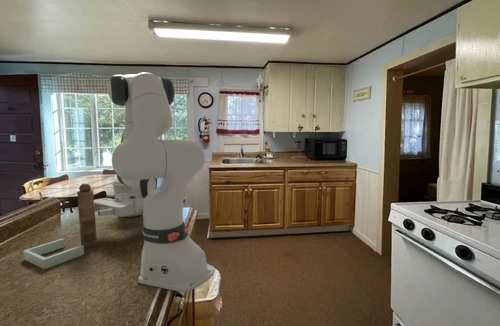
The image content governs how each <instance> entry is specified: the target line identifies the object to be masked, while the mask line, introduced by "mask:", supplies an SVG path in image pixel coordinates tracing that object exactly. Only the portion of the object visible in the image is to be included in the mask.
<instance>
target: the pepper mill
mask: <svg viewBox="0 0 500 326" xmlns="http://www.w3.org/2000/svg"><path fill="white" fill-rule="evenodd" d="M78 189H79V190H78V191H76V195H77V208H78V209H77V210H78V222H79V233H80V235H79V236H80V237H79V238H80V246H81V245H83V246H84V248H91V247H94V246H96V245H97V241H98V240H97V227H96V211H95V209H94V200H95V195H94V190H93V189H92V187H91V185H90V184H89V183H86V182H85V183H82V184H81V185H80V186H79V188H78Z"/></svg>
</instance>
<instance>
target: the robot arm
mask: <svg viewBox="0 0 500 326" xmlns="http://www.w3.org/2000/svg"><path fill="white" fill-rule="evenodd" d="M107 83H108V84H107V94H108V96H109V99H110V100H111V102H112V103H113V104H114V105H116V106H119V107H125V108H124V118H125V119H124V122H125V127H124V130H123V132H122V135H121V139H120V141H121V142H120V143H119V144H118V145H117V146H116V147H115V148H114V150H113V152H112V155H111V165H112V169H113V170H114V172H115V173H116V175H117V179H118V181H119V182H120V183H121V184H123V185H126V186H129V187H132V190H131V191H129V192H124V193H120V194H117V195H116V197H115V196H114V198H110V197H109V198H108V197H103V198H97V199H94V209H95V212H97V216H99V217H103V216H114V217H120V218H121V217H123V218H124V217H125V216H129V215H136V214H139V210H142V209H143V213H144V225H143V224H142V231H141V234H142V239H143V246H142V250H141V260H140V262H141V263H140V271H139V274H140V275H139V276H138V279H137V280H138V283H139V284H142V285H146V286H151V287H157V288H161V289H164V290H165V289H166V290H171V291H175V292H179V293H185V292H190V291H192V290H195V289H196V288H198V287H200V286H203V285H204V284H205V283H207V281H209V280H210V279H211V278H212V277H214V275H215V273H216V269H215V267H214V266H213V265H210V264H209V263H207V257H206V252H205V251H204V250H203V249H202V248H201V246H200V245H199V244H197V243H196V242H195V241H194V240H193V239H192V238H191V237H190V236H189V232H190V231H191V230H190V229H191V227H190V226H189V227H187V226H186V224H185V222H184V219H183V218H184V216H183V215H184V212H183V210H184V197H185V193H186V190H187V188H188V187H189V186H188V185H189V184H190V182H191V181H192V179H193V178H194V177H195V176H196V175H197V174H198V173H199V172H200V171H201V170H202V169H203V167H204V164H205V161H206V160H205V159H206V155H205V151H204V148H203V147H202V146H201V144H200V143H199V142H197V141H193V140H188V139H187V140H186V139H158V138H159V137H161V136H163V135H165V134H166V133H168V131H169V130H170V129H171V128H172V126H173V115H172V112H171V107H170V105H172V104H173V103H174V100H175V96H176V95H175V94H176V93H175V92H176V91H175V86H174V83H173V81H172V80H171V79H170V78H167V77H165V76H157V75H156V74H155V73H152V72H148V71H147V72H146V71H145V72H140V73H138V74H124V75H123V74H115V75H112V76H111V77H110V78H109V81H108V82H107ZM158 179H162V181H161V184H160V185H159V186H158Z"/></svg>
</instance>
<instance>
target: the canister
mask: <svg viewBox="0 0 500 326" xmlns="http://www.w3.org/2000/svg"><path fill="white" fill-rule="evenodd" d="M111 185H112V187H113V192H114V198H115V197H116V195H117V194H120V193H124V192H129V191H131V190H132V187H129V186H126V185H123V184H121V183H120V182H119V181H118V178H117V179H115V180H113V181H112V182H111ZM138 216H139V217H140V216H143V209H142V210H139V214H136V215H129V216H124V217H127V218H131V217H132V218H133V217H138Z"/></svg>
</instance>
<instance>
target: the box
mask: <svg viewBox="0 0 500 326" xmlns="http://www.w3.org/2000/svg"><path fill="white" fill-rule="evenodd" d="M65 242H66V241H65V238H59V239H56V240H54V241H50V242H46V243H43V244H41V245H37V246H33V247H31V248H27V249H24V250H23V251H22V253H23V259H24V260H25V261H27V262H29V263H30V264H33V265H35V266H37V267H38V268H41V269H42V270H46V269H49V268H52V267H54V266H58V265H60V264H63V263H65V262H67V261H69V260H73V259H76V258H78V257H81V256H83V255H85V247H84V246H83V245H81V244H80V245H78V246H75V247H72V248H70V249H67V250H64V251H61V252H59V253H55V254H53V255H49V256H46V257H45V256H43V255H45V254H48V253H52V252H54V251H56V250H59V249H64V248H66V243H65Z"/></svg>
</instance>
